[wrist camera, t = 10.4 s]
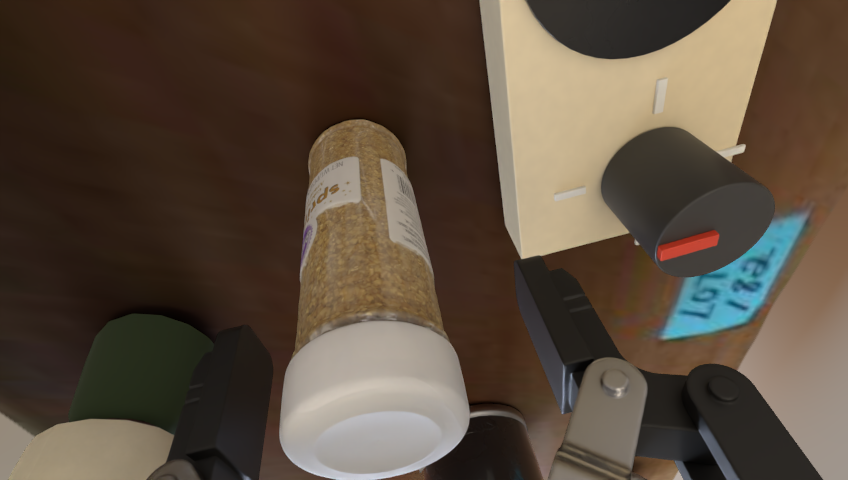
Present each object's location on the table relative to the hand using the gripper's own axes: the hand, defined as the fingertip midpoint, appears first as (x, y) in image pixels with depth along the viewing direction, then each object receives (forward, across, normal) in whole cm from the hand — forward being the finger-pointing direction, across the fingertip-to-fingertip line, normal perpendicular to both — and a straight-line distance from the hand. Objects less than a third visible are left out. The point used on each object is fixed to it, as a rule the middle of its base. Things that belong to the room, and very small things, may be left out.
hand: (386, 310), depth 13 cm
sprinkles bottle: (+10, +1, 0) cm, 10 cm away
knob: (+7, -12, +2) cm, 14 cm away
